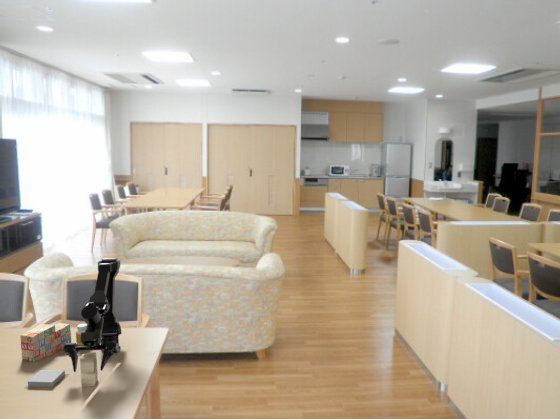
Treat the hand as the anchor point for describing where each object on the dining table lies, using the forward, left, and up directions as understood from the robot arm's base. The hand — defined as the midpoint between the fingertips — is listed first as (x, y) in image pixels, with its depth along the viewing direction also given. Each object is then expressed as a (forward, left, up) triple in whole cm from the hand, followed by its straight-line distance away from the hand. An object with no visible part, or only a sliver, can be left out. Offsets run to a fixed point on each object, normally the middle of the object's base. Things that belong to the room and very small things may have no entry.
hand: (87, 371), depth 171 cm
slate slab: (+10, -13, -5) cm, 18 cm away
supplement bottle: (-12, -38, -7) cm, 40 cm away
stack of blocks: (+2, -41, -7) cm, 42 cm away
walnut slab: (+10, -13, -7) cm, 18 cm away
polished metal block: (-1, -1, -7) cm, 7 cm away
